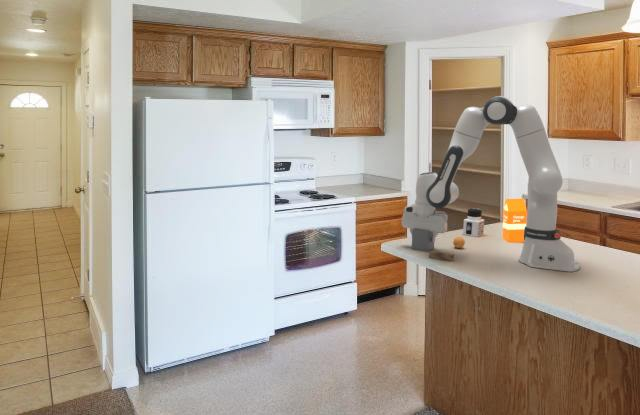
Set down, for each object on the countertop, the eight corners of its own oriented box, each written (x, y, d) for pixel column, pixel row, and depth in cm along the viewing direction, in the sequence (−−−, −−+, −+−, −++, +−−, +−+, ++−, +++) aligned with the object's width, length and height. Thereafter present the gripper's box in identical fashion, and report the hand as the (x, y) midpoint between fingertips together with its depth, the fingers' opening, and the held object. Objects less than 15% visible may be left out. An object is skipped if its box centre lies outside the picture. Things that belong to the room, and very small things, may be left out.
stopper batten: (454, 260, 214) (454, 254, 213) (452, 261, 212) (452, 255, 212) (430, 256, 219) (431, 250, 219) (428, 257, 218) (429, 251, 217)
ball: (466, 247, 235) (466, 236, 234) (462, 249, 231) (462, 238, 230) (455, 246, 238) (455, 235, 237) (451, 248, 234) (451, 237, 233)
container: (477, 237, 257) (479, 210, 254) (462, 234, 261) (464, 209, 259) (483, 234, 263) (485, 208, 261) (468, 232, 267) (470, 207, 265)
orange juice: (526, 241, 247) (527, 199, 245) (507, 242, 247) (508, 199, 245) (520, 238, 255) (521, 197, 252) (502, 239, 255) (502, 198, 253)
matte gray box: (434, 248, 233) (435, 228, 232) (427, 251, 227) (428, 231, 226) (418, 245, 238) (419, 226, 236) (411, 248, 232) (412, 229, 230)
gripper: (450, 211, 226) (448, 242, 229) (407, 205, 238) (405, 235, 240) (445, 213, 221) (443, 245, 223) (400, 207, 232) (399, 237, 235)
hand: (423, 240), depth 232 cm, fingers closed on matte gray box, 7 cm apart
